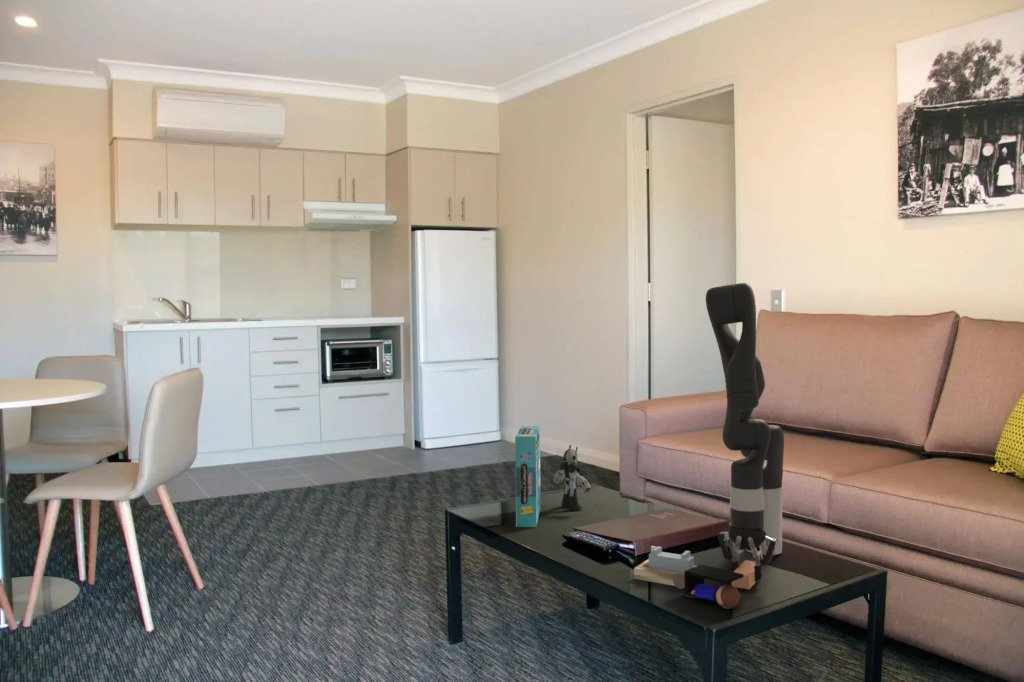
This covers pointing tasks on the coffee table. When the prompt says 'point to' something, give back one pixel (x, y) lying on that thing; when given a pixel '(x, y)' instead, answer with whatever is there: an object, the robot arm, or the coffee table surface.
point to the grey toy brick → (670, 560)
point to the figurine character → (695, 584)
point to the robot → (571, 480)
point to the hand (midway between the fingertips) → (747, 578)
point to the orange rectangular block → (745, 575)
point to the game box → (528, 476)
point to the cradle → (653, 574)
